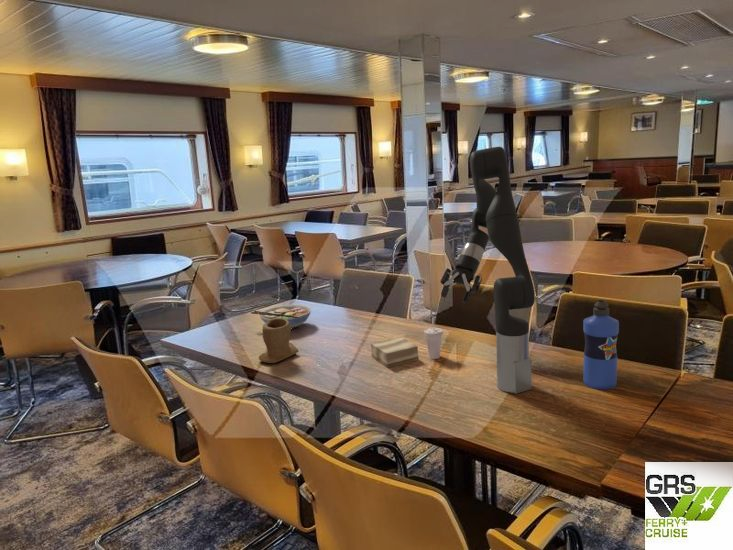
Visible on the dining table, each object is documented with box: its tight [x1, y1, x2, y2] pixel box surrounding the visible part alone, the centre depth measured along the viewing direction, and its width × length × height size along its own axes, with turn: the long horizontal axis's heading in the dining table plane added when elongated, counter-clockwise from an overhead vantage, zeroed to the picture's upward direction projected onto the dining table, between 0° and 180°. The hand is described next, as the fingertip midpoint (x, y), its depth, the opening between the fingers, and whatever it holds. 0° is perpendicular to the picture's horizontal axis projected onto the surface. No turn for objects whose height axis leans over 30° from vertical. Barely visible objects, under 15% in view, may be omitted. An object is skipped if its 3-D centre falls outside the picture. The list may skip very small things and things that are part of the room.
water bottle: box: [582, 299, 620, 390], centre depth 156 cm, size 9×9×25 cm
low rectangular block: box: [370, 336, 420, 369], centre depth 189 cm, size 12×12×5 cm
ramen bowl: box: [250, 303, 312, 329], centre depth 233 cm, size 25×23×8 cm
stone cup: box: [258, 318, 299, 364], centre depth 196 cm, size 15×12×15 cm
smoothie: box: [423, 317, 443, 360], centre depth 186 cm, size 6×6×14 cm
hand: (453, 299), depth 188 cm, fingers open, 8 cm apart
